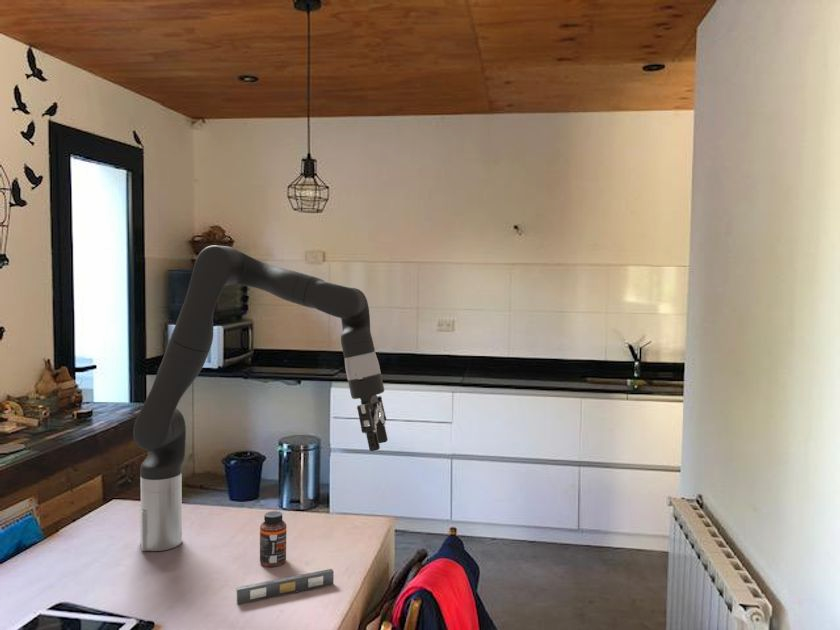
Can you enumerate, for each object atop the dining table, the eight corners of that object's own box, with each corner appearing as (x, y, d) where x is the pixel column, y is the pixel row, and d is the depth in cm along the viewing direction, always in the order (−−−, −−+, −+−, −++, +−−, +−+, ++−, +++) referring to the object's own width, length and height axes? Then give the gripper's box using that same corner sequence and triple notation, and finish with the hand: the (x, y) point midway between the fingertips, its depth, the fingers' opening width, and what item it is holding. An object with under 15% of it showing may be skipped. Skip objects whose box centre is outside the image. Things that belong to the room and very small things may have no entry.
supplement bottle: (279, 569, 146) (279, 519, 145) (255, 566, 147) (255, 517, 146) (290, 558, 152) (290, 510, 151) (266, 555, 153) (266, 508, 152)
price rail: (237, 605, 130) (237, 590, 130) (236, 601, 131) (236, 587, 131) (333, 585, 139) (334, 571, 139) (331, 582, 140) (331, 568, 140)
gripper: (355, 375, 153) (370, 443, 153) (339, 381, 139) (355, 456, 139) (386, 368, 152) (401, 437, 152) (373, 374, 138) (389, 449, 138)
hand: (379, 446), depth 145 cm, fingers open, 8 cm apart
